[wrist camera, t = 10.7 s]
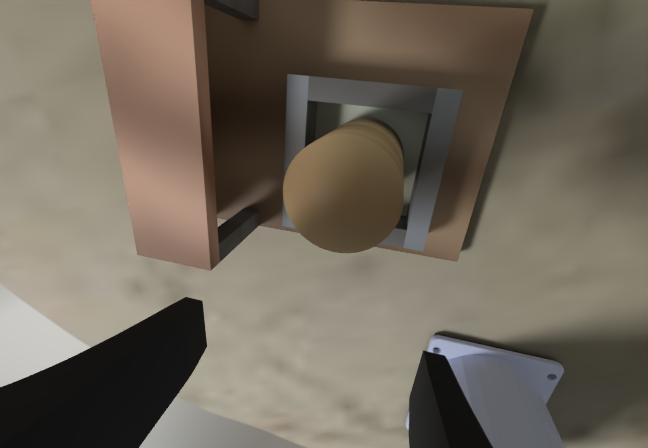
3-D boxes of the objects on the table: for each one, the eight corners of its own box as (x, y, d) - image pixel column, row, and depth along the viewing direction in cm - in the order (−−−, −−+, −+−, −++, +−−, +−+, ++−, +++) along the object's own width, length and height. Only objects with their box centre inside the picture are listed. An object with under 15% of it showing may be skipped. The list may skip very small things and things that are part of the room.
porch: (454, 253, 19) (478, 328, 13) (209, 209, 21) (137, 254, 16) (525, 14, 14) (616, -42, 8) (195, -3, 16) (80, -54, 11)
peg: (395, 199, 17) (390, 263, 11) (324, 187, 18) (280, 240, 11) (411, 123, 15) (416, 146, 9) (331, 112, 16) (285, 127, 10)
